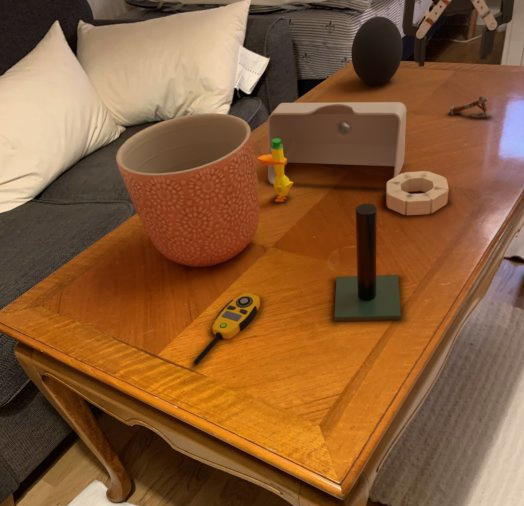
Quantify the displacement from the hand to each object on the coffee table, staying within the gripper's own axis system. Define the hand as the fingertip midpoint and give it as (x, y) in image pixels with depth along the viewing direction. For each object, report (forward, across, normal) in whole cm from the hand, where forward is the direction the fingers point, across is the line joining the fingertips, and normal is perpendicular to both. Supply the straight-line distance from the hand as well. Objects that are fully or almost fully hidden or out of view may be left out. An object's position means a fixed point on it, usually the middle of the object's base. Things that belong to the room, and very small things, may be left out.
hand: (451, 61), depth 75 cm
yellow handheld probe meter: (+23, +32, +33) cm, 51 cm away
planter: (+23, +39, +11) cm, 47 cm away
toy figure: (+23, +28, -3) cm, 36 cm away
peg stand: (+22, +12, +27) cm, 37 cm away
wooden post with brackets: (+22, -10, -33) cm, 41 cm away
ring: (+22, +4, 0) cm, 23 cm away
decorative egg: (+22, +9, -58) cm, 63 cm away
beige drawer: (+23, +17, -14) cm, 32 cm away
